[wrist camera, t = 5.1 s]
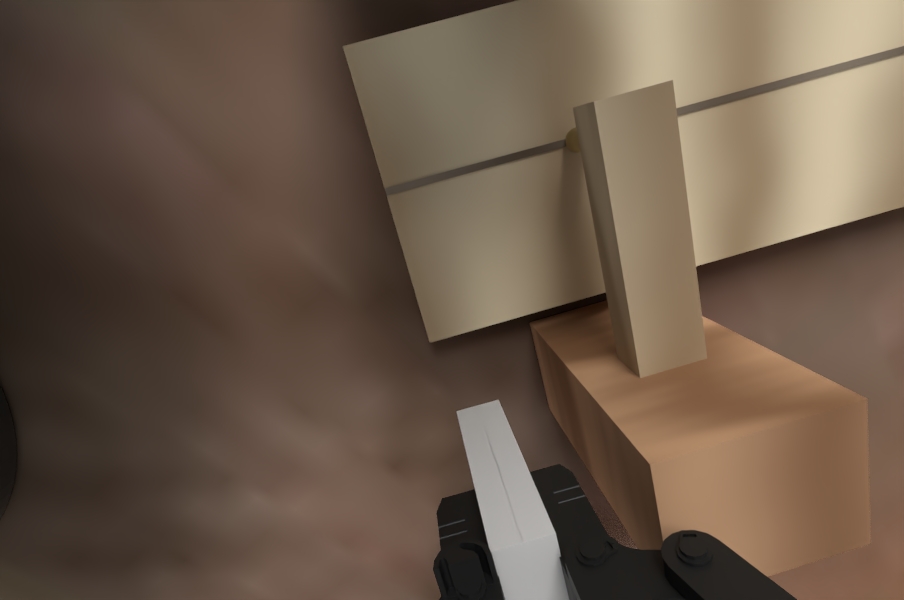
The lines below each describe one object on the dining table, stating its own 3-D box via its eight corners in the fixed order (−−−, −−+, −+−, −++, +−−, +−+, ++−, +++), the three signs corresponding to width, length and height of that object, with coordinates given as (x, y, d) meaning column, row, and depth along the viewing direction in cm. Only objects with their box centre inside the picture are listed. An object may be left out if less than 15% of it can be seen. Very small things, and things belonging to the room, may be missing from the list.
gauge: (552, 420, 22) (677, 624, 12) (485, 132, 18) (587, 101, 9) (662, 388, 22) (871, 563, 12) (617, 96, 19) (857, 28, 9)
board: (426, 327, 20) (429, 343, 18) (347, 57, 17) (342, 45, 15) (989, 166, 21) (1044, 167, 19) (1001, -115, 18) (1067, -145, 16)
